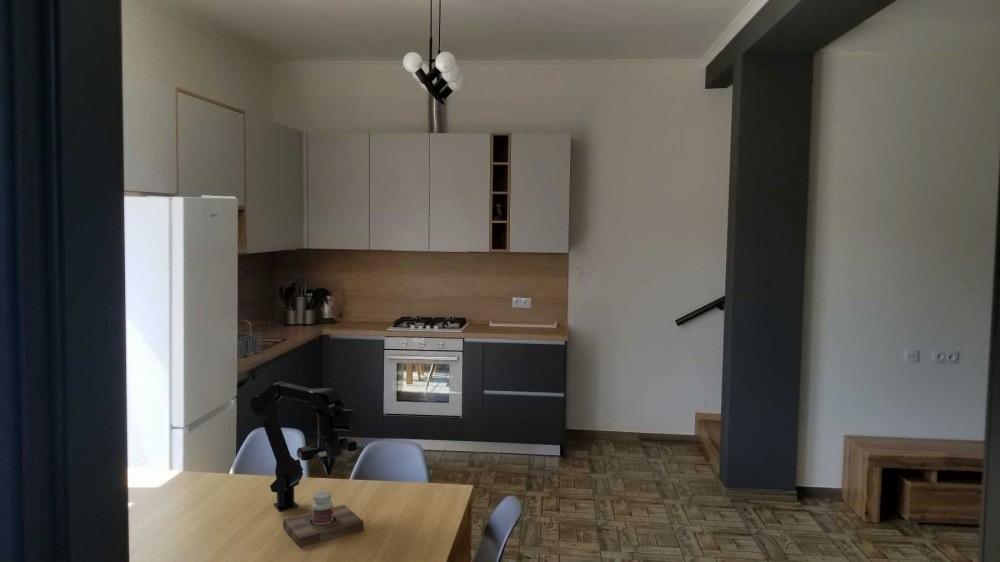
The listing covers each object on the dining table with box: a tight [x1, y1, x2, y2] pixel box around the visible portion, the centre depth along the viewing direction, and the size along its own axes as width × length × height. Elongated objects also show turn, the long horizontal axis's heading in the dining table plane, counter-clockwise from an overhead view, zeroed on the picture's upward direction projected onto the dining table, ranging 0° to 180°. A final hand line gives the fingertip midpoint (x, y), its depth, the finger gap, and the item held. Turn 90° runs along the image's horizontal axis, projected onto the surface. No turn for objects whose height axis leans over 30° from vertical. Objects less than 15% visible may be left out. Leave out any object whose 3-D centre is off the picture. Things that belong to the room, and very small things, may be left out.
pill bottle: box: [311, 490, 334, 526], centre depth 213 cm, size 6×6×11 cm
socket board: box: [282, 504, 365, 549], centre depth 214 cm, size 16×20×3 cm
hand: (328, 474), depth 225 cm, fingers closed
